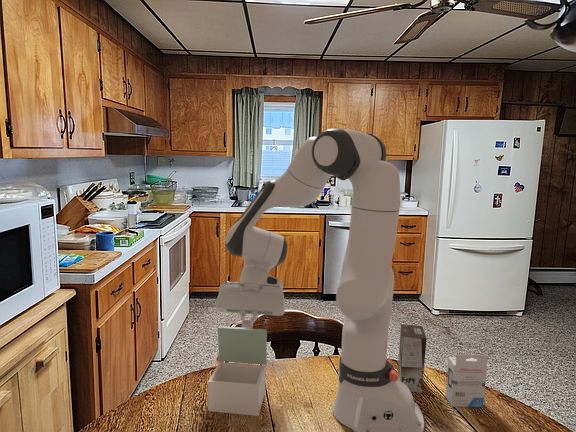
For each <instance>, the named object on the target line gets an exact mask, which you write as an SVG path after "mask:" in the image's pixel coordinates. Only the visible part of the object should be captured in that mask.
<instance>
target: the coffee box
mask: <svg viewBox="0 0 576 432" xmlns="http://www.w3.org/2000/svg"><path fill="white" fill-rule="evenodd" d="M399 329H400V332H399V344H398V347H399V348H398V349H399V350H398V362H397V363H398V364H397V376H398V379H399V380H400V381H401V382H403V383H404V384H405V385H406V386H407V387H408V388H409V390H410V392H411V393H412V392H413V393H418V394H422V393H423V385H424V373H425V372H424V371H425V363H426V362H425V361H426V349H427V340H428V338H427V336H426V333H425V331H424V327H423V326H422V325H417V324H416V325H415V324H413V325H412V324H400V328H399Z"/></svg>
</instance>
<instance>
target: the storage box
mask: <svg viewBox="0 0 576 432" xmlns="http://www.w3.org/2000/svg"><path fill="white" fill-rule="evenodd" d="M266 374H267V366H266V365H263V364H251V363H239V362H226V361H218V364H217V365H216V367H215V368H214V370H213V372H212V374H211V375H210V377H209V379H208V380H207V411H208V412H214V413H224V414H225V413H226V414H233V415H234V414H235V415H242V416H243V415H244V416H254V417H259V415H260V413H261V408H262V406H263V402H264V399H265V396H266V386H267V385H266V384H267V383H266V379H267V377H266V376H267V375H266Z"/></svg>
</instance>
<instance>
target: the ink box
mask: <svg viewBox="0 0 576 432" xmlns="http://www.w3.org/2000/svg"><path fill="white" fill-rule="evenodd" d="M447 358H448V359H447V370H446V386H445V395H444V397H445V398H446V399H447V401H448V403H449V404H450V406H451V407H457V408H484V404H485V403H484V401H485V393H486V392H485V391H486V383H487V382H486V381H487V374H488V373H487V372H488V366H487V364H488V355H487V354H456V355H455V357H453V356H448V357H447Z"/></svg>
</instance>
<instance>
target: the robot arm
mask: <svg viewBox="0 0 576 432" xmlns="http://www.w3.org/2000/svg"><path fill="white" fill-rule="evenodd" d="M386 159H387V149H386V146H385V144H384V142H383V141H382V140H381V138H379V137H378V136H376V135H374V134H371V133H366V132H363V131H359V130H356V129H350V128H349V129H346V128H344V129H342V128H338V127H337V128H329V129H326V130H324V131H322V132H320V133H319V134H317V135H316V136H311V137H309V138H307V139H306V140H305V141H304V142H303V144H302V145H301V146H300V147H299V149H298V150H297V151H296V153H295V154H294V156H293V158H292V160H291V161H290V163H289V165H288V167H287V169H286V170H285V172H284V173H283V174H281V175H280V176H279V177H277V178H276V179H273V180H268V181H267V182H266V183H265V184H264V185H263V186H262V187H261V189H259V191H258V192H257V193H256V195H255V196H254V197H253V199H252V200H251V202H250V203H249V204H248V206H247V207H246V209H245V210H244V211H243V213H241V215H240V217H239V218H237V220H235V222H234V223H233V224H232V225H231V227H230V228H229V229H228V231H227V233H226V236H225V240H224V246H225V248H226V249H227V251H228V252H229V254H230V255H231V256H235V257H240V258H243V268H242V269H241V273H240V279H239V282H238V281H225V282H223V283H221V284H220V285H219V287H218V295H217V298H216V302H215V307H216V309H217V311H218V312H220V313H232V314H239V315H240V318H241V320H242V321H241V328H252V329H254V328H253V326H254V323H256V320H258V318H259V315H261V316H262V315H263V316H277V317H280V316H283V315H284V314H285V311H286V304H285V303H286V302H285V301H286V300H285V295H284V285H283V281H282V280H281V279H279V278H277V277H276V276H275V277H274V276H272V275H271V274H270V271H271V269H275V268H276V267H278V266H280V265H282V264H283V263H284V262H285V261H286V257H287V256H288V255H287V254H288V242H287V240H286V238H285V237H284V235H281V234H279V233H275V232H273V231H269V230H265V229H263V228H261V227H260V228H259V227H258V226H255V225H256V223H257V222H258V221H259V220H260V219H261V217H262V216H263V215H264V213H265V212H267V211H268V210H270V209H274V208H280V207H283V208H284V207H286V208H301V207H305V206H308V205H311V204H312V203H314V202H315V201H316V200H317V199H318V197H320V195H321V193H322V191H323V190H324V188H325V186H326V184H327V183H328V182H329V179H330V177H331V176H333V177H335V178H337V179H339V180H341V181H346V180H349V182H350V183H351V186H352V201H351V210H350V219H349V220H350V222H349V230H348V231H349V232H348V239H347V244H346V249H345V253H344V257H343V261H342V262H343V263H342V266H341V270H340V271H341V272H340V277H339V283H338V286H337V290H336V295H335V301H336V305H337V307H338V309H339V310H340V312H341V313H342V314H343V315H344V316H345V318H344V322H343V326H342V331H341V332H342V333H341V335H342V336H341V351H340V352H341V355H340V356H339V360H338V361H339V362H338V368H337V370H338V371H337V372H338V373H337V374H338V375H337V377H338V386H337V391H336V392H337V393H336V396H335V399H334V402H333V405H332V407H331V408H332V414H333V416H334V418H335V419H336V420H337V421H338V422H339V423H341V424H343V425H344V426H345V427H347V428H349V429H351V430H352V431H353V432H424V431H425V417H424V415H423V412H422V409H421V408H420V406H419V405H418V404H417V403H416V402H415V400H414V397H413V394H412V392H411V391H410V390H409V388H408V387H407V386H406V385H405V384H404V383H403V382H401V381H400V380H399V379H398V371H396V370H395V367H394V364H392V361H391V359H388V360H387V352H388V351H387V350H388V339H389V337H388V336H389V329H390V321H391V313H392V307H393V299H394V289H395V274H394V271H393V268H392V263H393V262H392V261H393V257H394V252H395V248H396V243H397V236H398V235H397V234H398V227H399V226H398V225H399V216H400V205H401V180H400V172H399V170H398V168H397V167H396V166H395V165H394V164H393V163H391V162H388V161H386ZM248 314H249V315H252V317H251V318H250V319H245V318H246V316H247V315H248Z"/></svg>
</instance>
